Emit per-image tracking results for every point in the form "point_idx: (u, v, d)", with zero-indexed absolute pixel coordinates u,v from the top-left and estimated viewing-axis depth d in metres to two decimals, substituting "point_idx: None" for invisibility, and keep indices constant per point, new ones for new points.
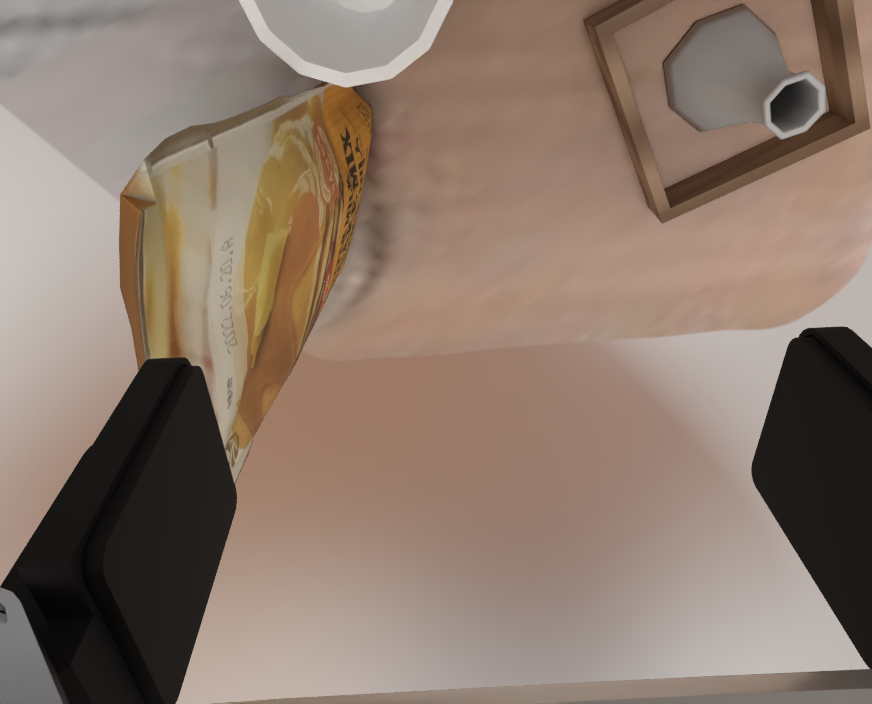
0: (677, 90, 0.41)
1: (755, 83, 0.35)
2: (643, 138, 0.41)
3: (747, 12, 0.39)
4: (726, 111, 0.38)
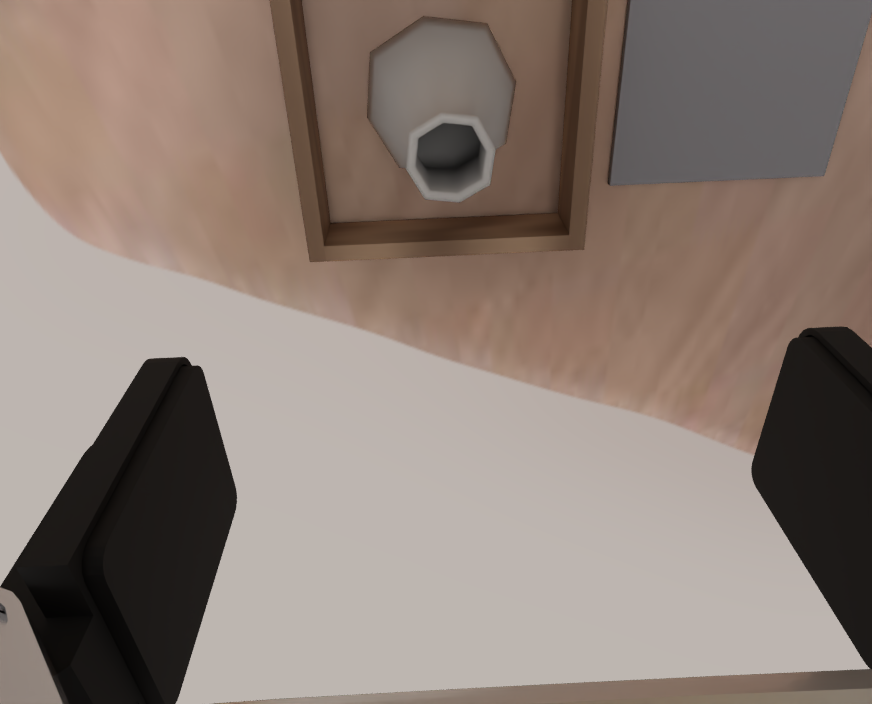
0: (452, 30, 0.28)
1: None
2: None
3: (502, 143, 0.31)
4: (428, 80, 0.26)
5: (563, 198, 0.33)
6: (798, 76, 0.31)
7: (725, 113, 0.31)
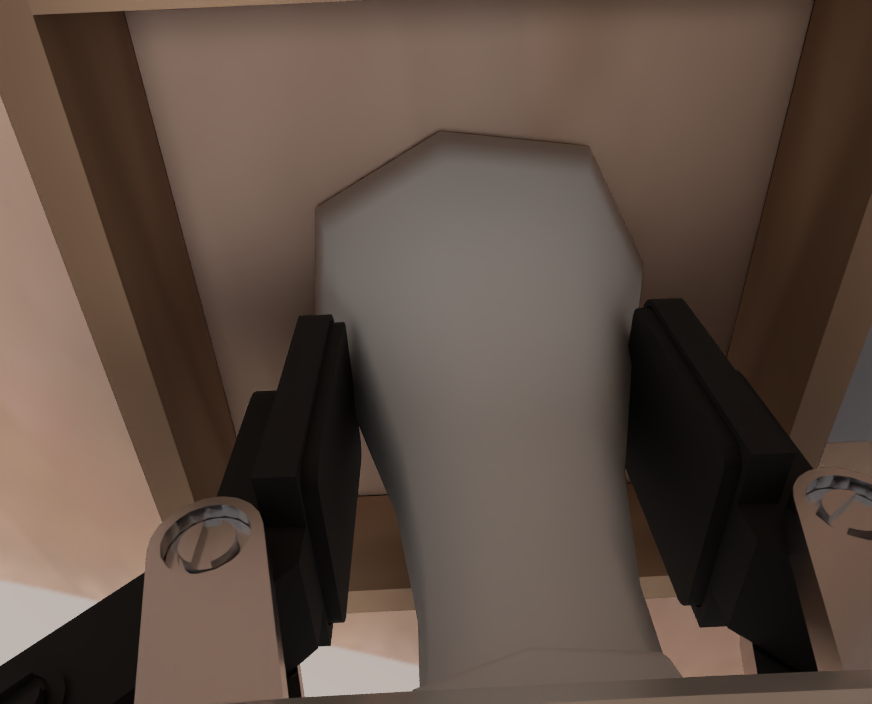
0: (510, 171, 0.12)
1: (619, 529, 0.08)
2: None
3: None
4: (460, 353, 0.09)
5: None
6: None
7: None
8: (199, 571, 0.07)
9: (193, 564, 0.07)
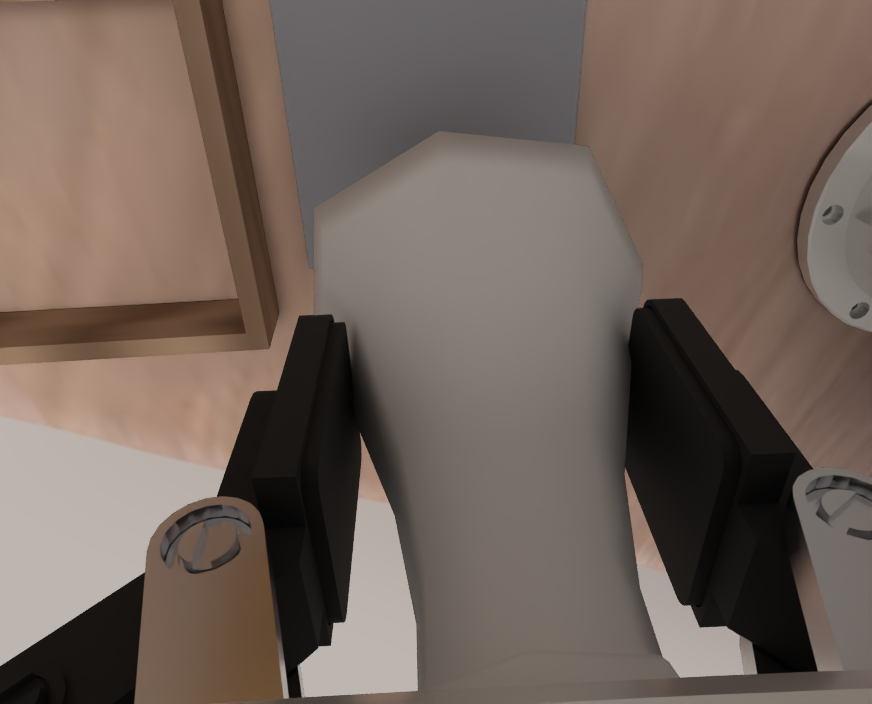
0: (509, 171, 0.12)
1: (618, 531, 0.08)
2: None
3: None
4: (459, 354, 0.09)
5: None
6: None
7: None
8: (200, 571, 0.07)
9: (194, 564, 0.07)
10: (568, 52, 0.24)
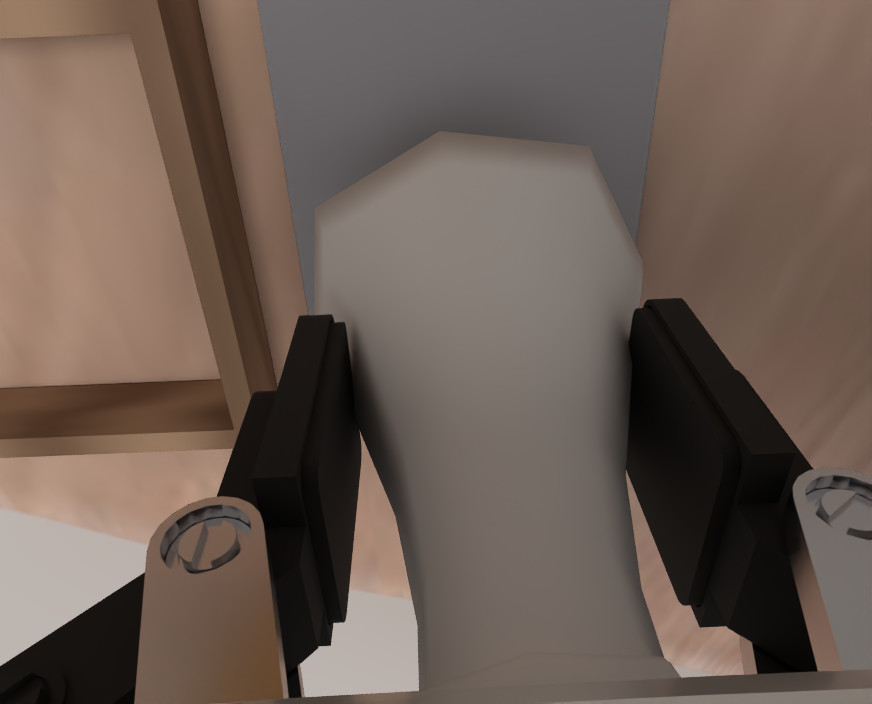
0: (510, 171, 0.12)
1: (620, 532, 0.08)
2: None
3: None
4: (460, 355, 0.09)
5: None
6: None
7: None
8: (200, 571, 0.07)
9: (194, 564, 0.07)
10: (638, 96, 0.19)
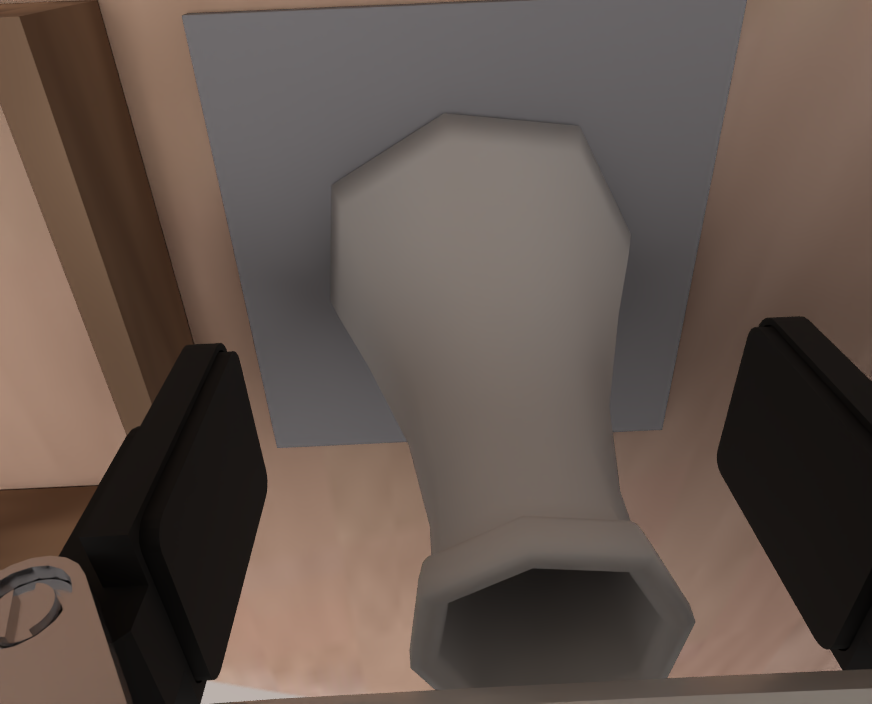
0: (507, 148, 0.13)
1: (601, 443, 0.09)
2: None
3: None
4: (464, 302, 0.10)
5: None
6: None
7: None
8: (17, 644, 0.06)
9: (8, 638, 0.06)
10: (695, 145, 0.14)
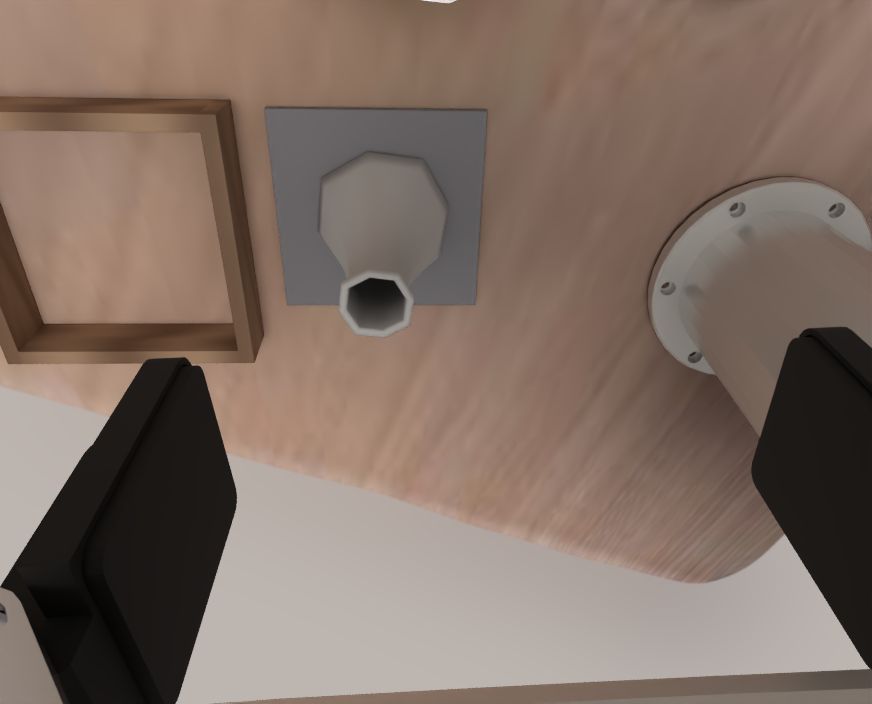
0: (391, 167, 0.32)
1: (403, 263, 0.29)
2: (50, 125, 0.29)
3: (436, 258, 0.35)
4: (365, 221, 0.30)
5: None
6: None
7: None
8: None
9: None
10: (473, 170, 0.34)
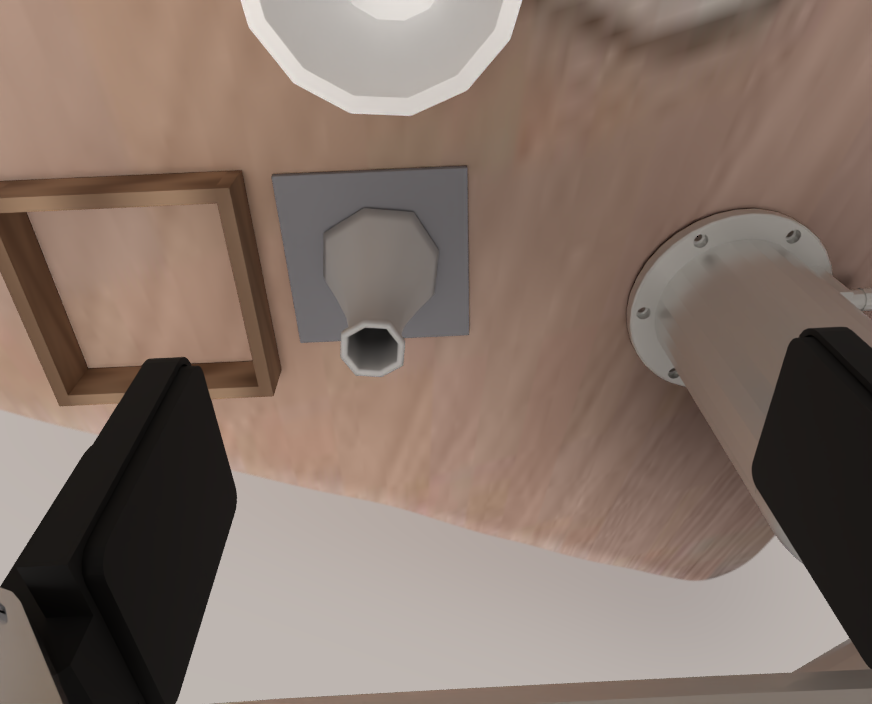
0: (384, 221, 0.37)
1: (395, 310, 0.33)
2: (89, 204, 0.34)
3: (430, 297, 0.39)
4: (362, 273, 0.34)
5: None
6: None
7: None
8: None
9: None
10: (459, 218, 0.38)
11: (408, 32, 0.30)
